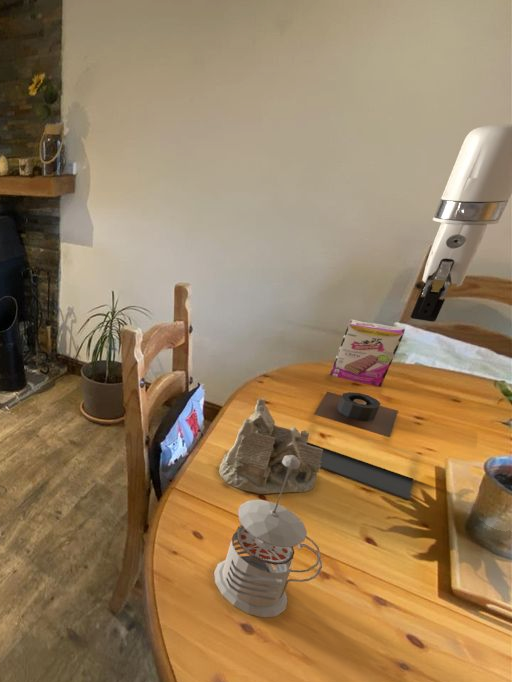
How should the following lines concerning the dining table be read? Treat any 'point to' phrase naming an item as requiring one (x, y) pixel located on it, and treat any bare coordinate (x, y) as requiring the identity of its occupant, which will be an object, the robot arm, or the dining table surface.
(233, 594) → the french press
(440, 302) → the robot arm
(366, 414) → the tape roll
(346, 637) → the dining table surface
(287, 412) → the dining table surface
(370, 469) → the felt mat
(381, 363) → the candy bar box
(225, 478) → the ceramic cottage
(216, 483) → the dining table surface
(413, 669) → the dining table surface
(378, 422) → the tape stand
